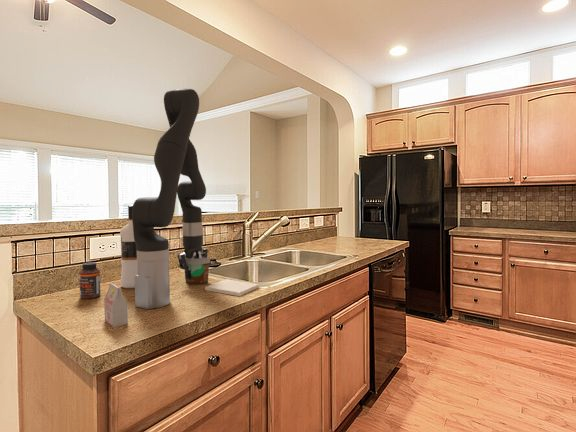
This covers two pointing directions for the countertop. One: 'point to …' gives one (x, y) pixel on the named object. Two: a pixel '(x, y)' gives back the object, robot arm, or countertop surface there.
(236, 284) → the cutting board
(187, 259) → the food container
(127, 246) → the vodka
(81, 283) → the supplement bottle
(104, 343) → the countertop surface
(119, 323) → the white milk carton
